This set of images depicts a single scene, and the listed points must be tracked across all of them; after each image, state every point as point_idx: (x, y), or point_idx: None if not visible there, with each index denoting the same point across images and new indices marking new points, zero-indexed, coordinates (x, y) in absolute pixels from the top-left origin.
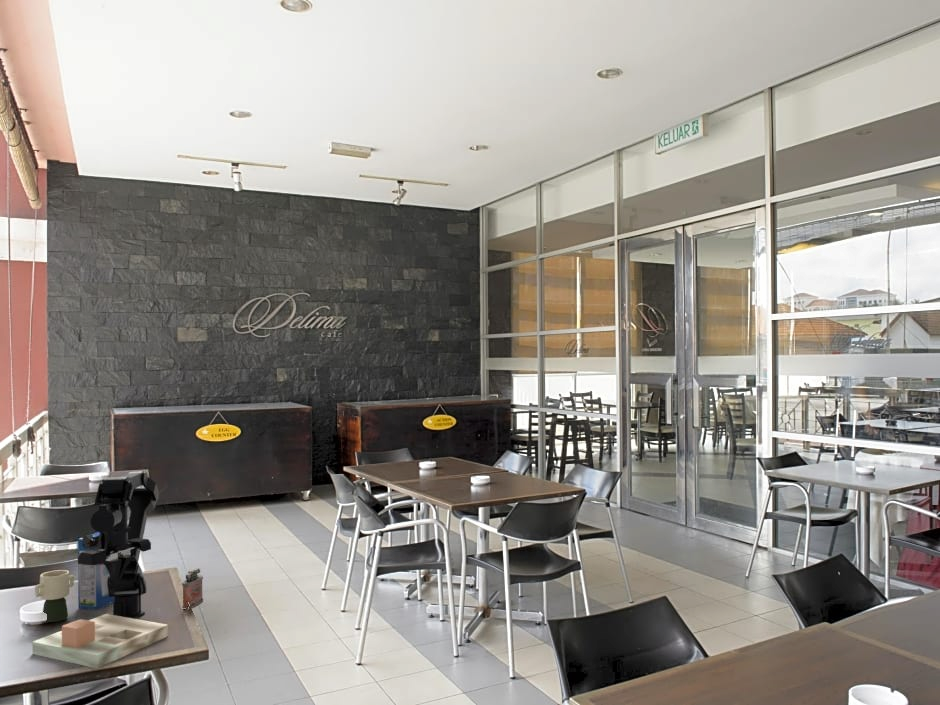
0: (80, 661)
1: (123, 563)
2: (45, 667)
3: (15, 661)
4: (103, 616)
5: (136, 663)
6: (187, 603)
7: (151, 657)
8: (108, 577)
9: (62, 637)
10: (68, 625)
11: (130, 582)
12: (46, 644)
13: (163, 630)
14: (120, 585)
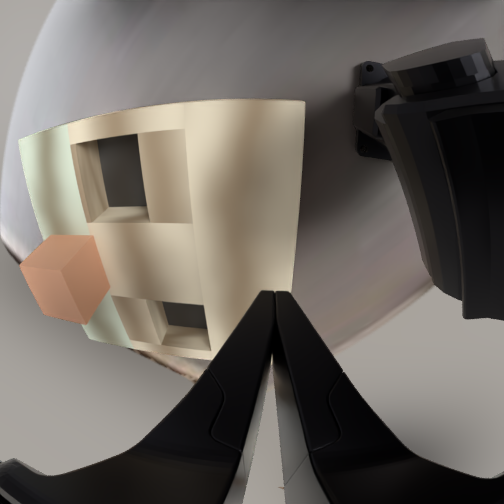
0: None
1: (286, 498)
2: (39, 232)
3: (15, 142)
4: (270, 120)
5: (153, 359)
6: None
7: (182, 366)
8: (437, 67)
9: (39, 247)
10: (31, 279)
11: (425, 261)
12: (30, 194)
13: None
14: (403, 190)
